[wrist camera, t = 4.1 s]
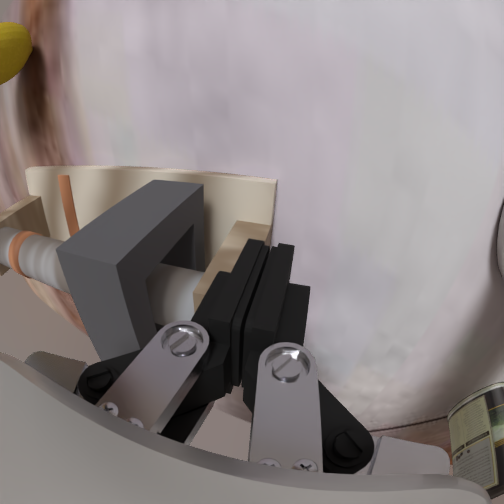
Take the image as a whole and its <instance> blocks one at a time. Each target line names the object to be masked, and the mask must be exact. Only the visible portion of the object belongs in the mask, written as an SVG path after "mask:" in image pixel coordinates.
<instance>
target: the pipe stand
mask: <svg viewBox="0 0 504 504" xmlns="http://www.w3.org/2000/svg"><path fill="white" fill-rule="evenodd" d="M25 173H26V179H27V184H28V189H29V194H30V195H29V196H28V197H26V198H24V199H23V200H21V201H19V202H18V203H16V204H14V205H13V206H11V207H9V208H8V209H6V210H5V211H3V212H2V213H0V276H2V275H3V274H4V273H5V272H7V271H8V270H9V269H10V268H11V269H13V270H14V271H15V272H17V273H18V274H21V275H23V276H25V277H27V278H33V279H35V280H37V281H40V282H42V283H44V284H47V285H49V286H52V287H54V288H56V289H59V290H61V291H64V292H66V293H69V294H71V293H70V290H69V288H68V285H67V282H66V279H65V277H64V274H63V271H62V268H61V265H60V262H59V259H58V256H57V252H56V248H57V247H59V246H60V245H61V244H62V243H64V242H65V241H66V240H67V239H69V238H70V237H71V236H73V235H74V234H75V233H76V232H78V231H79V230H80V229H82V228H83V227H84V226H86V225H87V224H89V223H90V222H91V221H93V220H94V219H95V218H97V217H98V216H100V215H101V214H102V213H104V212H105V211H107V210H108V209H109V208H111V207H112V206H114V205H115V204H117V203H118V202H120V201H121V200H123V199H124V198H126V197H127V196H129V195H130V194H132V193H133V192H135V191H136V190H138V189H139V188H141V187H143V186H144V185H146V184H147V183H149V182H151V181H152V180H166V181H178V182H189V183H199V184H204V243H205V272H201V271H196V270H191V269H186V268H181V267H176V266H172V265H167V264H162V263H159V264H158V265H157V266H156V268H155V269H154V270H153V271H152V272H151V274H150V275H149V276H148V277H147V278H146V280H145V281H146V286H147V291H148V296H149V301H150V305H151V310H152V314H153V318H154V323H157V324H160V325H164V326H165V325H167V324H170V323H172V322H176V321H191V319H192V317H193V315H194V314H195V312H196V310H197V308H198V306H199V305H200V303H201V301H202V299H203V298H204V296H205V294H206V292H207V290H208V289H209V287H210V285H211V283H212V282H213V280H214V278H215V276H216V275H217V273H218V272H219V271H225V272H230V273H231V271H232V269H233V267H234V265H235V263H236V261H237V260H238V258H239V256H240V254H241V252H242V250H243V248H244V246H245V244H246V242H247V240H248V238H250V239H256V240H262V241H265V245H267V246H270V244H271V235H272V226H273V216H274V207H275V197H276V187H277V180H276V179H269V178H261V177H253V176H245V175H236V174H227V173H217V172H207V171H196V170H183V169H169V168H152V167H130V166H40V167H30V168H28V169H26V170H25ZM269 253H270V252H269Z"/></svg>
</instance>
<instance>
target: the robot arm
mask: <svg viewBox="0 0 504 504" xmlns="http://www.w3.org/2000/svg"><path fill="white" fill-rule="evenodd" d="M294 247H295V246H294V245H288V244H282V243H279V244H278V247H274V246H272V248H271V251H270V246H267V245H265V241H262V240H256V239H250V238H248V240H247V242H246V244H245V246H244V248H243V250H242V252H241V254H240V256H239V258H238V260H237V261H236V263H235V265H234V267H233V269H232V271H231V273H230V272H225V271H219V272H218V273H217V275H216V276H215V278H214V280H213V282H212V283H211V285H210V287H209V289H208V290H207V292H206V294H205V296H204V298H203V299H202V301H201V303H200V305H199V306H198V308H197V310H196V312H195V314H194V315H193V317H192V319H191V321H176V322H172V323H170V324H167V325H165V326H164V327H163V328H162V329H161V330H160V331H159V332H158V333H157V334H156V335H155V336H154V337H153V339H152V340H151V341H150V342H149V343H148V344H147V345H146V347H145V348H143V349H140V350H137V351H134V352H131V353H127V354H124V355H121V356H118V357H114V358H111V359H108V360H104V361H101V362H97V363H95V364H93V365H90V366H88V365H87V363H86V362H83V361H78V360H75V359H70V358H66V357H62V356H58V355H55V354H51V353H47V352H44V351H38V352H35V353H33V354H31V355H30V356H29V357H28V358H27V359H26V361H25V362H22V361H20V360H19V359H17V358H15V357H13V356H10V355H8V354H5V353H1V352H0V504H492V502H491V499H490V496H489V494H488V493H487V491H486V490H485V489H484V488H483V487H482V486H480V485H479V484H477V483H475V482H473V481H471V480H467V479H465V478H462V477H456V476H451V475H449V470H450V459H449V457H448V454H447V453H446V452H445V451H444V450H443V449H442V448H440V447H437V446H432V445H426V444H421V443H415V442H410V441H405V440H401V439H396V438H392V437H388V436H383V435H382V436H381V437H380V438H379V437H375V436H372V435H370V433H369V432H368V430H367V429H366V428H365V427H364V426H363V425H362V424H361V423H360V422H359V421H358V420H357V419H356V418H355V417H354V416H353V415H352V414H351V413H350V412H349V411H348V410H347V409H346V408H345V407H344V406H343V405H342V404H341V403H340V402H339V401H338V400H337V399H336V398H335V397H334V396H333V395H332V394H331V393H330V392H329V391H328V390H327V389H326V387H325V386H324V385H323V384H322V383H321V382H320V381H319V380H318V375H317V364H316V361H315V358H314V356H313V355H312V354H311V352H310V351H308V350H307V349H306V348H305V347H303V343H304V336H305V328H306V321H307V313H308V304H309V296H310V286H304V285H298V284H292V283H289V280H290V274H291V267H292V261H293V254H294ZM269 252H270V254H269ZM497 258H498V266H499V270H500V272H501V275H502V278H503V279H504V207H503V211H502V215H501V219H500V223H499V230H498V238H497ZM241 380H242V387H244V391H243V401H244V403H245V404H246V405H247V407H248V408H249V410H250V411H251V412H252V421H251V433H250V443H249V454H248V461H243V460H239V459H235V458H230V457H227V456H223V455H219V454H215V453H212V452H208V451H205V450H202V449H198V448H195V447H192V446H189V445H190V443H191V442H192V440H193V438H194V436H195V435H196V433H197V432H198V430H199V428H200V427H201V425H202V424H203V422H204V420H205V419H206V417H207V415H208V414H209V412H210V410H211V409H212V407H213V405H214V402H215V400H217V399H219V398H222V397H224V396H225V394H226V393H229V394H231V391H232V388H233V385H234V386H238V387H239V385H240V383H241Z"/></svg>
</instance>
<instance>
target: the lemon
mask: <svg viewBox="0 0 504 504" xmlns="http://www.w3.org/2000/svg"><path fill="white" fill-rule="evenodd" d="M31 45H32V42H31V36H30V33H29V32H28V30H27V29H26V28H25V27H24V26H22V25H20V24H17V23H13V22H3V23H0V85H1V84H3V83H5V82H7V81H9V80H10V79H11V78H13V77H14V76H15V75H16V74H18V72H19V71H20V70H21V69H22V68H23V66H24V65H25V63H26V62H27V60H28V57H29V55H30V54H31V53H32V50H33V48H32V46H31Z"/></svg>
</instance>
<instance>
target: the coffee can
mask: <svg viewBox="0 0 504 504" xmlns="http://www.w3.org/2000/svg"><path fill="white" fill-rule="evenodd" d="M447 421H448V424H449V431H450V440H451V450H452V461H453V476H456V477H462V478H465V479H467V480H471V481H473V482H475V483H477V484H479V485H480V486H482V487H483V488H484V489H485V490H486V491H487V493H488V494H489V496H490V499H493V498H495V497H498V496H500V495H502V494H504V382H501V383H496V384H493V385H490V386H487V387H485V388H483V389H481V390H479V391H477V392H475V393H473V394H471V395H470V396H468V397H467V398H465V399H464V400H462V401H461V402H460V403H458V404H457V405H456V406H455V407H454V408H453V409H452V410H451V411H450V412H449V414H448V417H447Z"/></svg>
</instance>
